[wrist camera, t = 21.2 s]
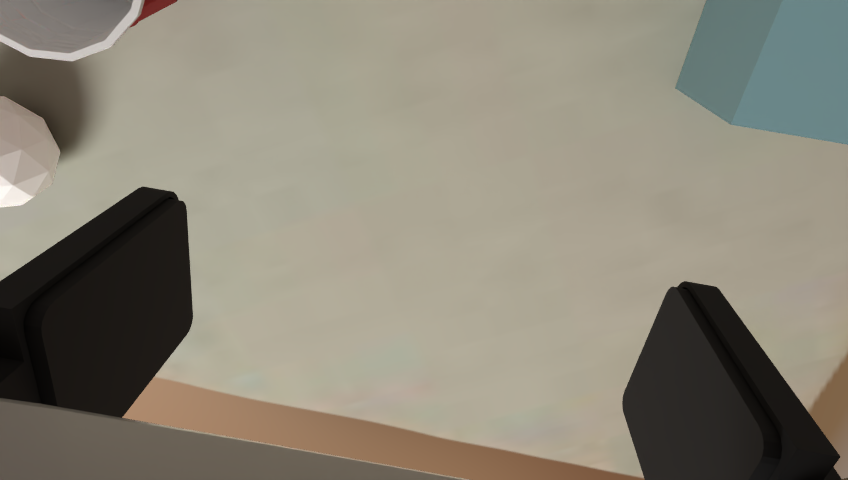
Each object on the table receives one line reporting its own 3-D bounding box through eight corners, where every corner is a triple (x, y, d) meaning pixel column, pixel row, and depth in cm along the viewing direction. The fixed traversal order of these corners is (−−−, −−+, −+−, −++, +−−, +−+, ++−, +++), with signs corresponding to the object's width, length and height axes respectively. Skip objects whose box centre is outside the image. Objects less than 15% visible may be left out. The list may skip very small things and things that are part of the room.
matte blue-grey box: (855, -24, 32) (978, -18, 24) (793, 108, 35) (883, 150, 27) (722, -46, 32) (802, -47, 24) (675, 87, 35) (730, 124, 27)
